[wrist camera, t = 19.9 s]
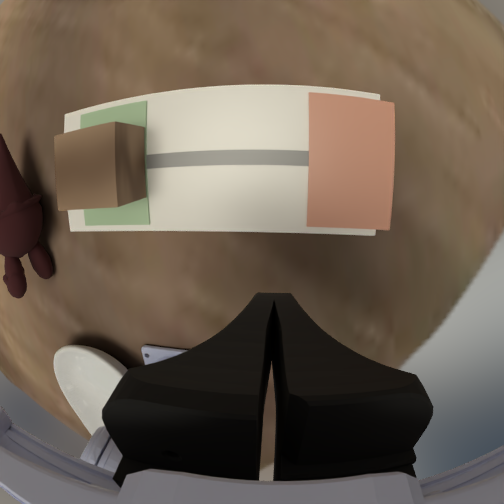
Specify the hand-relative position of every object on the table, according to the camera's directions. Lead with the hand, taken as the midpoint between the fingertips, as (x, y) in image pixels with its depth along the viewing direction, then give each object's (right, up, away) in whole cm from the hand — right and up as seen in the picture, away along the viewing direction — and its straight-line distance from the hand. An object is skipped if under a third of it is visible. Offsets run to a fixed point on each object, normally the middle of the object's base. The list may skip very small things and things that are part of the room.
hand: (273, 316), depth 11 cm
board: (-4, +9, +8) cm, 13 cm away
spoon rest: (-16, -17, +18) cm, 29 cm away
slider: (-11, +9, +7) cm, 16 cm away
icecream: (-22, +7, +11) cm, 25 cm away
